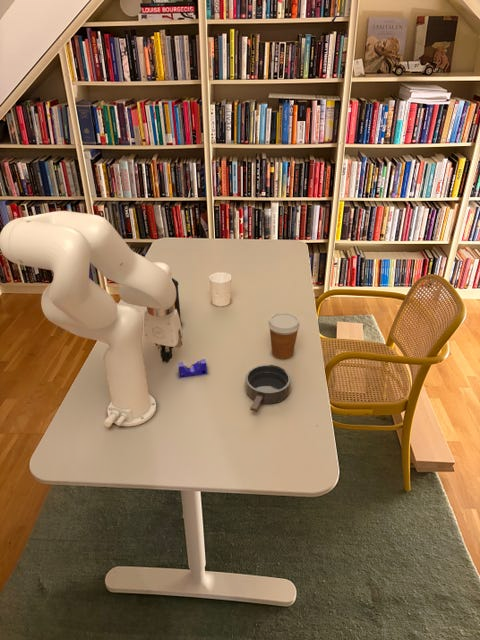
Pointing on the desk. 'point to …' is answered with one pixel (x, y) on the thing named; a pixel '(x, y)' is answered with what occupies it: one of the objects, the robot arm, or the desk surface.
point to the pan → (268, 383)
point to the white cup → (220, 288)
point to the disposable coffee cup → (283, 334)
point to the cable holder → (192, 369)
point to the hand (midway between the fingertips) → (167, 359)
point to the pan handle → (257, 402)
